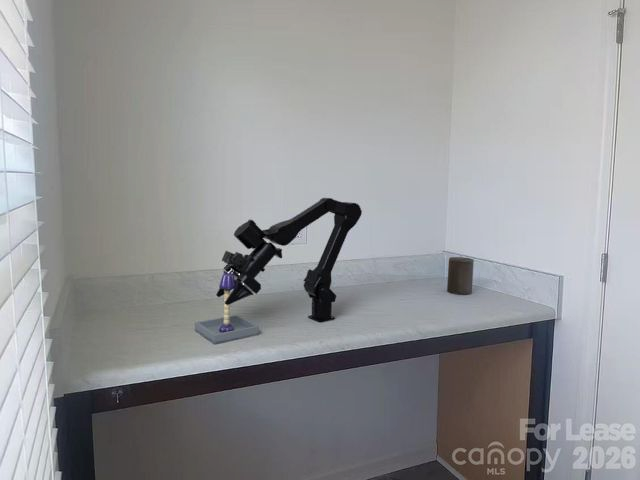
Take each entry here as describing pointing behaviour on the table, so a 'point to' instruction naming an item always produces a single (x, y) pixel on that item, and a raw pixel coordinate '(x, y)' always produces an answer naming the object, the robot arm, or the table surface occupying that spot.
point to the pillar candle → (460, 275)
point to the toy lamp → (226, 284)
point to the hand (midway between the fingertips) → (221, 300)
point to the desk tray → (212, 333)
